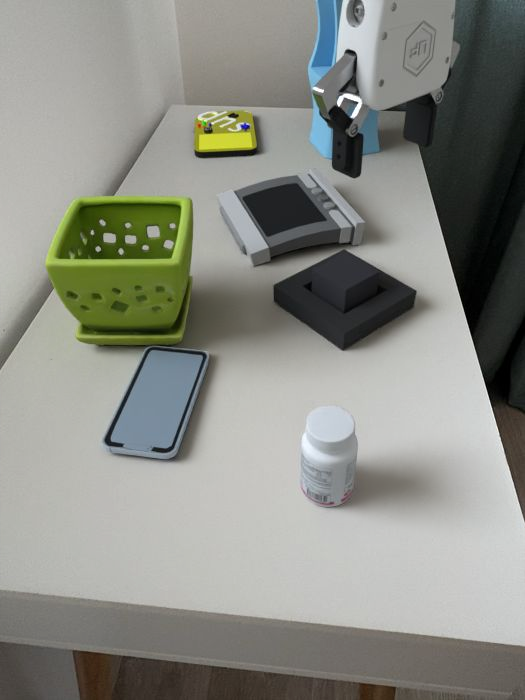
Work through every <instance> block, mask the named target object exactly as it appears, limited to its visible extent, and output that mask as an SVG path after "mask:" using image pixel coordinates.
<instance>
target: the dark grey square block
mask: <svg viewBox="0 0 525 700" xmlns="http://www.w3.org/2000/svg"><path fill="white" fill-rule="evenodd" d="M378 279H379V271H377V270H376V269H374V268H372V267H371V266H369V265H367V264H365V263H364V262H362V261H360V260H358V259H357V258H355V257H353V256H351V255H350V254H348V253H346V252H345V253H343V254H341V255H339V256H337V257H335V258H333V259H331V260H329V261H327V262H325V263H324V264H322V265H320V266H318V267H316V268H314V269H312V293H313V294H315V295H316V296H318V297H319V298H321V299H322V300H324V301H326V302H327V303H329V304H330V305H332V306H333V307H335V308H336V309H338V310H339V311H341V312H342V313H344V314H345V313H347V312H349V311H351V310H352V309H354V308H356V307H358V306H359V305H361V304H363V303H364V302H366V301H368V300H370V299H371V298H373V297H375V296H376V295H377V287H378Z"/></svg>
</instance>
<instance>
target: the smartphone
mask: <svg viewBox="0 0 525 700" xmlns="http://www.w3.org/2000/svg"><path fill="white" fill-rule="evenodd" d="M209 363H210V355H209V353H208V352H207V351H205V350H202V349H200V350H199V349H191V348H181V347H171V346H163V345H149V346H148V347H146V348H145V349H144V351H143V352H142V355H141V357H140V359H139V360H138V363H137V365H136V367H135V369H134V372H133V374H132V375H131V378H130V380H129V382H128V384H127V386H126V388H125V390H124V392H123V393H122V396H121V398H120V401H119V403H118V405H117V407H116V410H114V413H113V415H112V418H111V420H110V421H109V424H108V426H107V428H106V430H105V432H104V434H103V436H102V438H101V444H102V447H103V450H105V451H106V452H108V453H113V454H120V455H129V456H137V457H145V458H152V459H153V458H154V459H159V460H160V459H161V460H169V459H171V458H173V457H175V456H176V455H177V454H178V451H179V449H180V446H181V444H182V440H183V438H184V434H185V431H186V429H187V427H188V426H187V425H188V423H189V420H190V417H191V414H192V412H193V408H194V407H195V403H196V400H197V398H198V394H199V392H200V389H201V386H202V383H203V380H204V377H205V374H206V371H207V368H208V366H209Z"/></svg>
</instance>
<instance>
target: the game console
mask: <svg viewBox="0 0 525 700" xmlns="http://www.w3.org/2000/svg"><path fill="white" fill-rule="evenodd" d="M256 137H257V136H256V131H255V124H254V117H253V112H252V111H250V110H246V109H244V110H243V109H241V110H240V109H239V110H219V111H205V112H203V113H201V114H198V115H197V116H196V117H195V119H194V139H193V140H194V141H193V145H194V146H193V151H194V156H195V157H196V158H199V159H210V158H212V159H213V158H229V157H231V158H232V157H250V156H254V155H256V154H257V153H258V143H257V138H256Z"/></svg>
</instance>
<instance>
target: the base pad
mask: <svg viewBox="0 0 525 700" xmlns="http://www.w3.org/2000/svg"><path fill="white" fill-rule="evenodd" d="M345 252H346V253H348V254H350V255H351V256H353V257H355V258H357V259H358V260H360V261H362V262H364V263H365V264H367V265H369V266H371V267H372V268H374V269H376V270H377V271H379V279H378V287H377V295H376V296H375V297H373V298H371V299H370V300H368V301H366V302H364V303H363V304H361V305H359V306H358V307H356V308H354V309H352V310H351V311H349V312H347V313H345V314H344V313H342V312H341V311H339V310H338V309H336V308H335V307H333V306H332V305H330V304H329V303H327V302H326V301H324V300H322V299H321V298H319V297H318V296H316V295H315V294H313V293H312V269H314V268H316V267H318V266H320V265H322V264H324V263H325V262H327V261H329V260H331V259H333V258H335V257H337V256H339V255H341V254H343V253H345ZM417 291H418V290H416V289H414V288H413V287H411V286H410V285H408V284H406V283H404V282H403V281H401V280H399V279H397V278H396V277H394V276H392V275H390V274H389V273H387V272H385V271H383V270H382V269H380V268H378V267H376V266H374V265H373V264H371V263H370V262H368V261H366V260H364V259H362V258H361V257H359V256H358V255H355V254H353V253H352V252H350V251H348V250H346V249H345V248H344V249H342V250H339V251H338V252H335V253H333V254H332V255H330V256H328V257H325V258H323V259H322V260H320V261H318V262H316V263H314V264H312V265H310V266H308V267H306V268H305V269H302V270H300V271H298V272H296V273H295V274H292V275H291V276H288V277H286V278H284V279H282V280H280V281H279V282H277V283H275V284H273V285H272V301H273V303H275V304H276V305H277V306H278V307H281V308H282V309H283V310H284V311H286V312H288V313H289V314H290V315H292V316H293V317H295V318H296V319H297V320H299V321H300V322H302V324H304V325H306V326H307V327H308V328H310V329H311V330H313V331H314V332H316V333H317V334H318V335H320V336H321V337H323V338H324V339H326V340H327V341H328V342H330V343H331V344H333V345H334V346H335V347H337V348H338V349H339V350H341V351H345V350H347V349H348V348H350V347H352V346H353V345H355V344H357V343H358V342H360V341H361V340H363V339H365V338H366V337H368V336H370V335H371V334H373V333H375V332H376V331H378V330H380V329H381V328H383V327H384V326H386V325H387V324H389V323H391V322H392V321H394V320H396V319H397V318H399V317H401V316H402V315H404V314H405V313H407V312H409V311H410V310H412V309H414V308H415V302H416V297H417Z"/></svg>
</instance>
